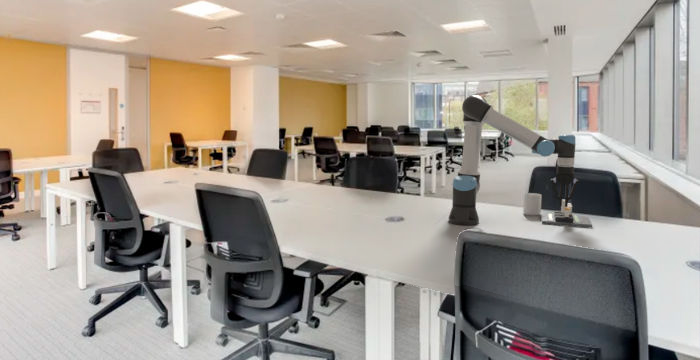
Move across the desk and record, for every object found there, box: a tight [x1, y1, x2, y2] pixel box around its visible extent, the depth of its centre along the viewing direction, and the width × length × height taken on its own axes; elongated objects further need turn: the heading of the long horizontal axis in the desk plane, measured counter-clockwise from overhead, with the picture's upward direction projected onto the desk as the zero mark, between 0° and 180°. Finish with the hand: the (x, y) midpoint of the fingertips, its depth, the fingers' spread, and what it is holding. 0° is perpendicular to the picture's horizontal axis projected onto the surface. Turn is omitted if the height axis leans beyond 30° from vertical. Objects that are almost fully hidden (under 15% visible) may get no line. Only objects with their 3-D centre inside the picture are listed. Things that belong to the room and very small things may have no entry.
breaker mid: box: [567, 204, 573, 215], centre depth 213 cm, size 2×3×4 cm
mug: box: [522, 192, 542, 216], centre depth 232 cm, size 12×9×11 cm
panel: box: [541, 210, 593, 229], centre depth 213 cm, size 22×18×4 cm
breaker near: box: [564, 206, 570, 217], centre depth 208 cm, size 2×3×4 cm
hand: (562, 212), depth 209 cm, fingers closed
